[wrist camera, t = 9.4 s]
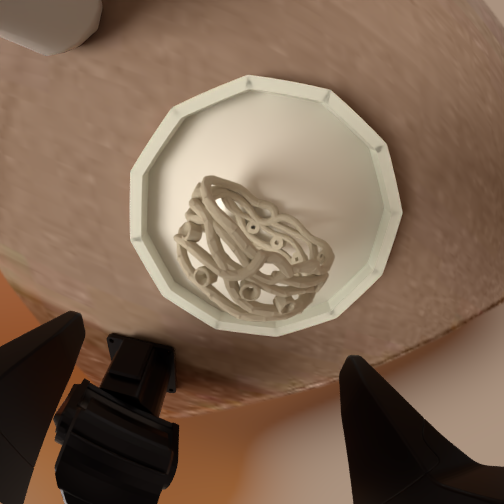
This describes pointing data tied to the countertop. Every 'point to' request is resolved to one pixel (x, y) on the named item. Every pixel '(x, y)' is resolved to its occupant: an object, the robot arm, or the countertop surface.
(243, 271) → the bracelet
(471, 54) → the countertop surface
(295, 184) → the ring dish
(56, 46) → the salt shaker
